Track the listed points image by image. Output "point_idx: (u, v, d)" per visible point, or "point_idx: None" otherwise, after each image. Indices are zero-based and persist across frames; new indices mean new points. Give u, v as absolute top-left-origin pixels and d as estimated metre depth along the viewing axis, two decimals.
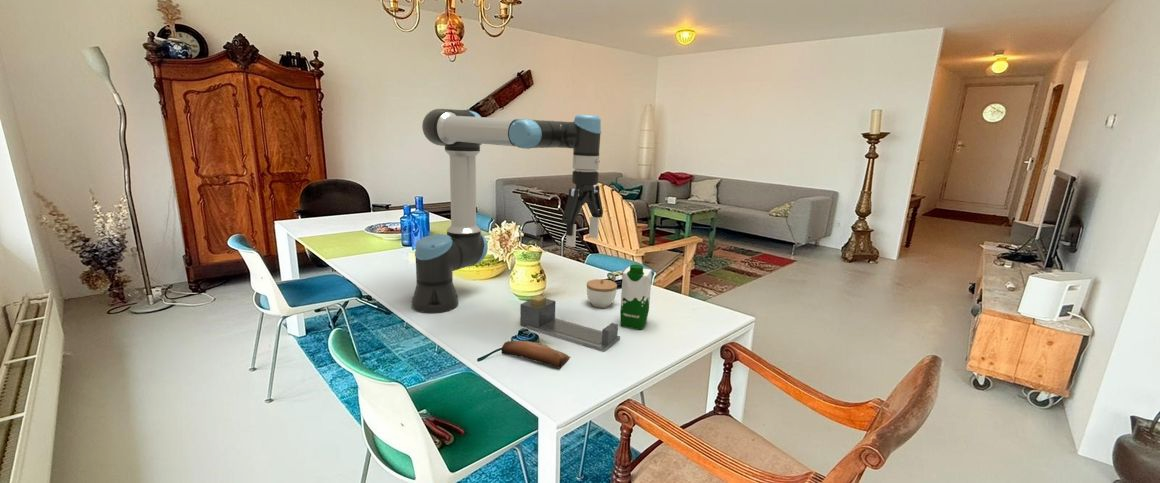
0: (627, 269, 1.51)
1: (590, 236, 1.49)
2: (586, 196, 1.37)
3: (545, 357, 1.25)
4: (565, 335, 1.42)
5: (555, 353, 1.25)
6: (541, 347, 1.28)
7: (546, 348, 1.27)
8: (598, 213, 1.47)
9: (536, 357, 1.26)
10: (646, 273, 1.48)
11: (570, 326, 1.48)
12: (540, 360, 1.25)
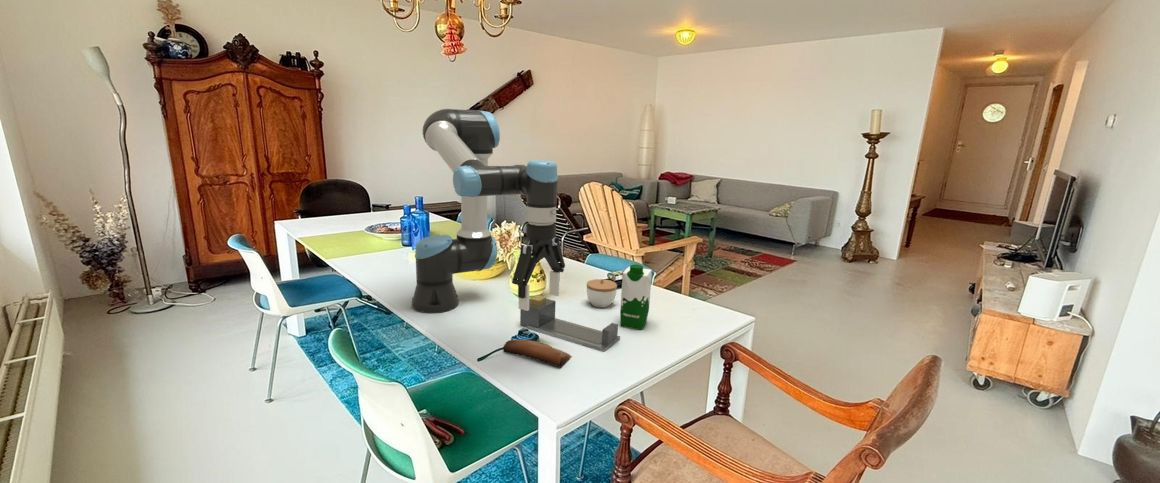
0: (627, 269, 1.51)
1: (550, 293, 1.32)
2: (541, 252, 1.21)
3: (546, 356, 1.25)
4: (565, 335, 1.42)
5: (556, 352, 1.25)
6: (542, 346, 1.28)
7: (547, 347, 1.28)
8: (558, 268, 1.30)
9: (537, 356, 1.26)
10: (646, 273, 1.48)
11: (570, 326, 1.48)
12: (541, 359, 1.26)
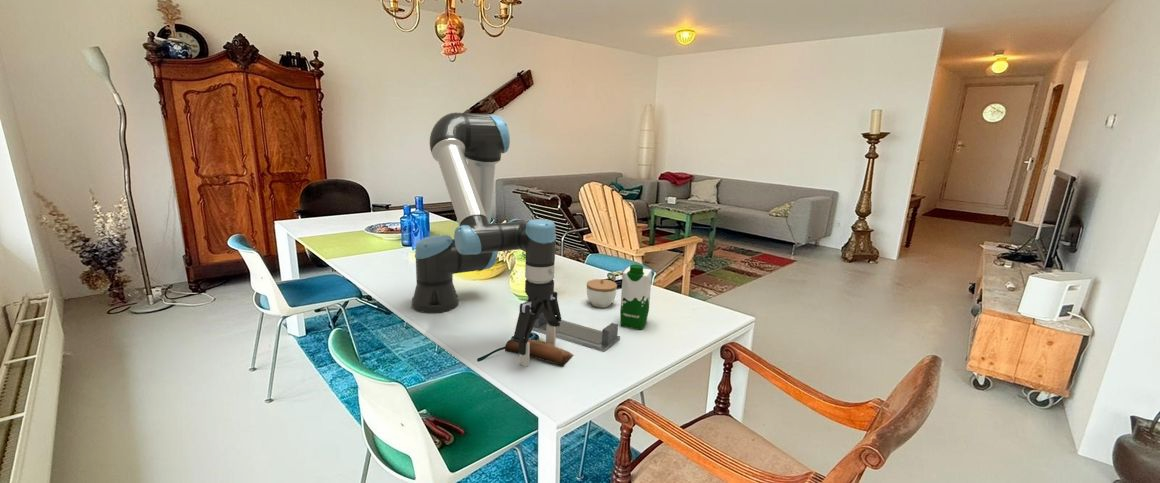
0: (627, 269, 1.51)
1: None
2: (540, 309, 1.24)
3: (548, 355, 1.26)
4: (565, 335, 1.42)
5: (558, 351, 1.26)
6: (544, 345, 1.29)
7: (549, 346, 1.28)
8: (555, 322, 1.33)
9: (539, 354, 1.27)
10: (646, 273, 1.48)
11: (570, 326, 1.48)
12: (543, 358, 1.27)
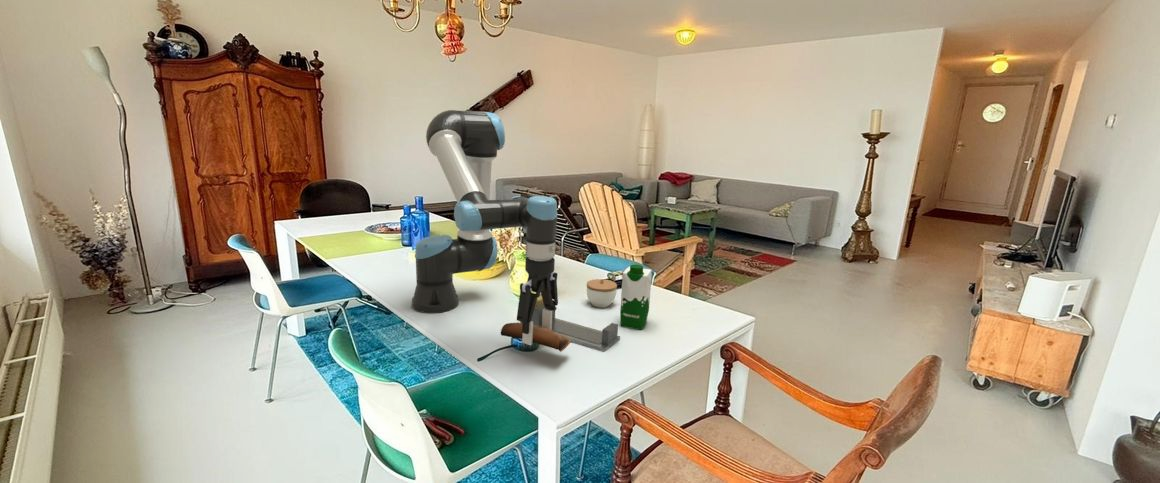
0: (627, 269, 1.51)
1: None
2: (540, 287, 1.23)
3: (545, 339, 1.24)
4: (565, 335, 1.42)
5: (555, 335, 1.24)
6: (541, 329, 1.27)
7: (546, 330, 1.26)
8: (552, 305, 1.31)
9: (535, 339, 1.25)
10: (646, 273, 1.48)
11: (570, 326, 1.48)
12: (540, 342, 1.25)
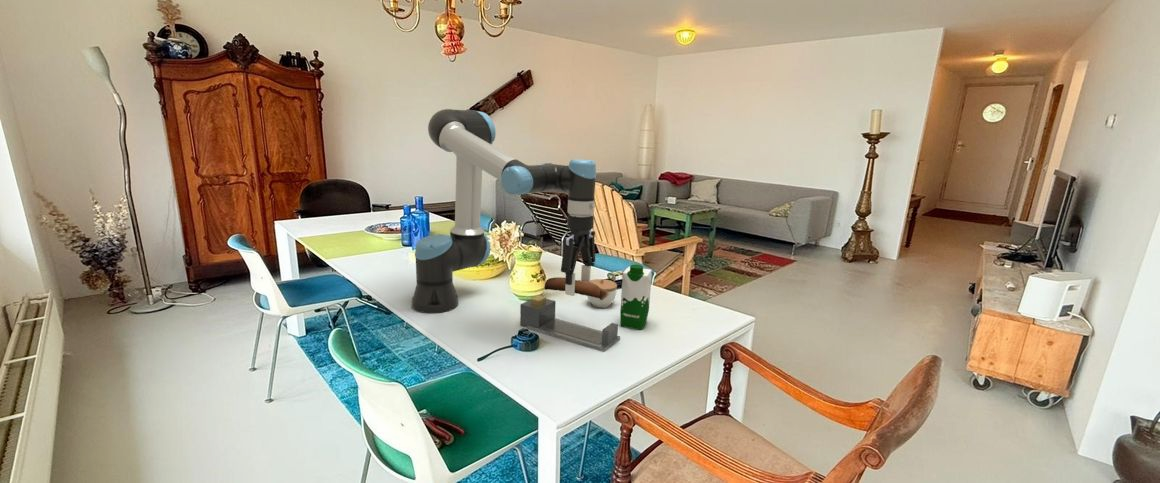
0: (627, 269, 1.51)
1: None
2: (582, 241, 1.35)
3: (586, 290, 1.36)
4: (565, 335, 1.42)
5: (595, 286, 1.36)
6: (582, 282, 1.39)
7: (586, 282, 1.38)
8: (590, 261, 1.43)
9: (577, 290, 1.37)
10: (646, 273, 1.48)
11: (570, 326, 1.48)
12: (582, 292, 1.36)
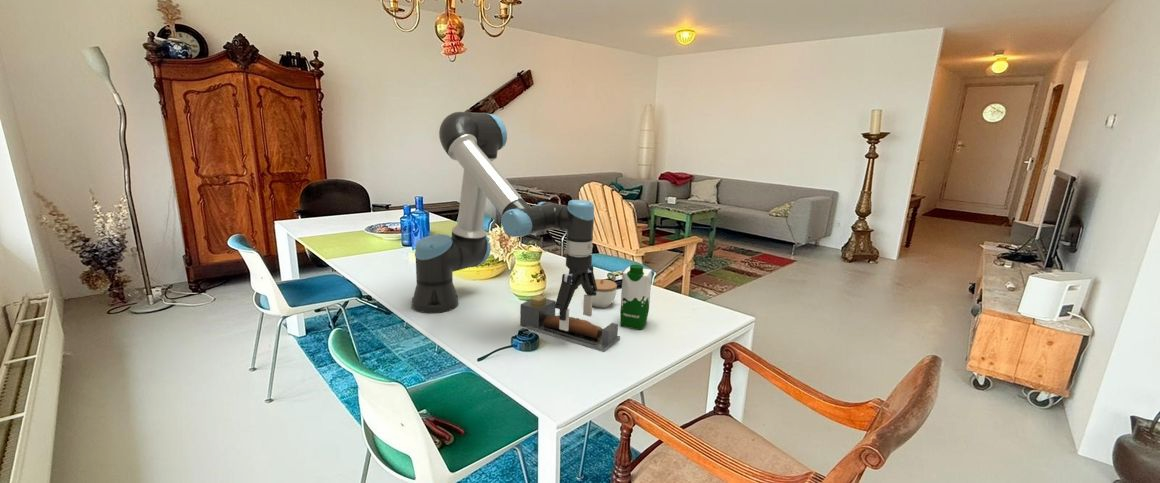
0: (627, 269, 1.51)
1: (584, 313, 1.50)
2: (579, 280, 1.38)
3: (584, 329, 1.39)
4: (565, 335, 1.42)
5: (593, 326, 1.39)
6: (580, 321, 1.42)
7: (584, 321, 1.41)
8: (592, 292, 1.47)
9: (575, 329, 1.40)
10: (646, 273, 1.48)
11: None
12: (579, 332, 1.40)
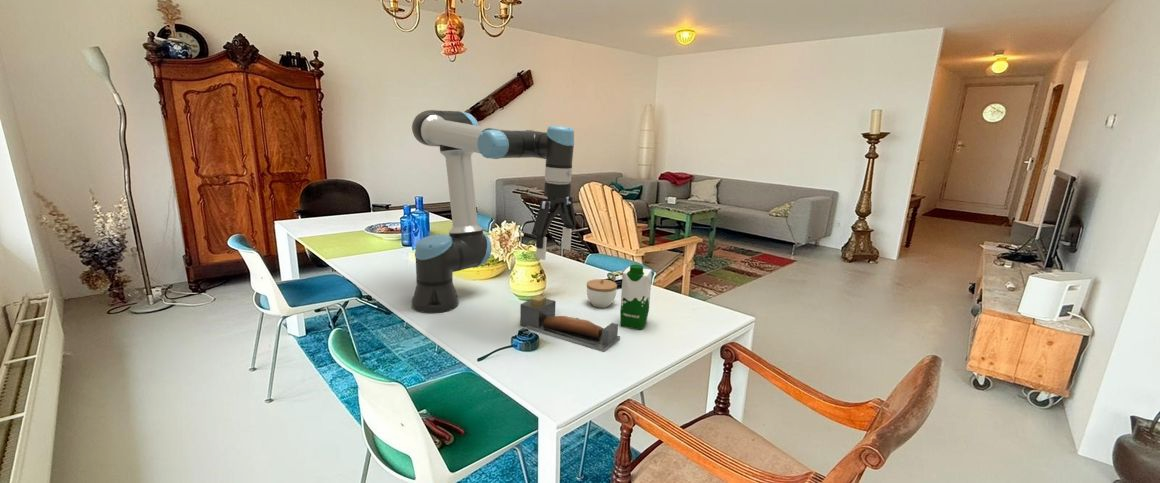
0: (627, 269, 1.51)
1: (563, 247, 1.47)
2: (558, 208, 1.35)
3: (585, 329, 1.39)
4: (565, 335, 1.42)
5: (594, 325, 1.39)
6: (580, 321, 1.42)
7: (585, 321, 1.42)
8: (571, 224, 1.45)
9: (576, 329, 1.40)
10: (646, 273, 1.48)
11: None
12: (580, 332, 1.40)
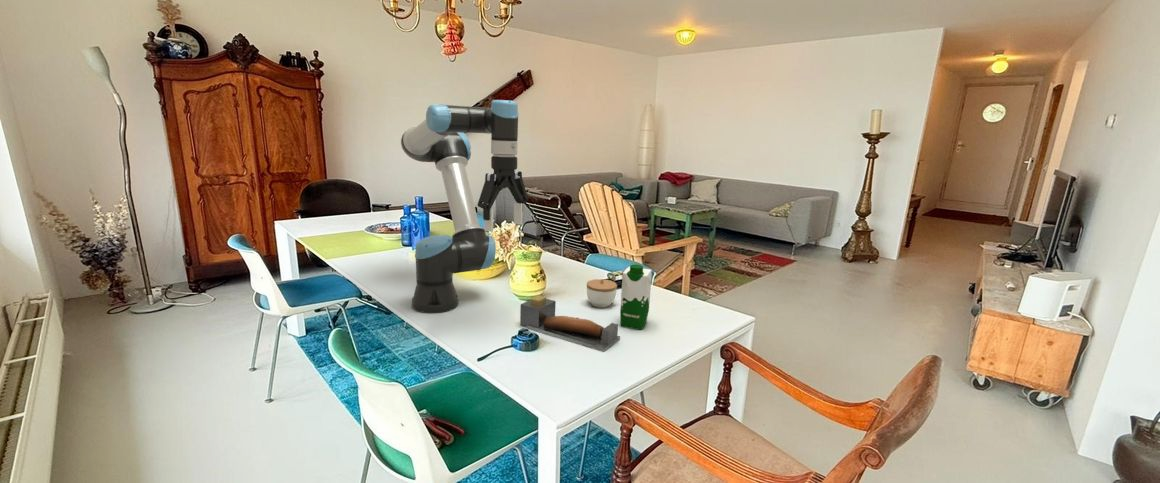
0: (627, 269, 1.51)
1: (515, 222, 1.50)
2: (504, 181, 1.38)
3: (587, 328, 1.40)
4: (565, 335, 1.42)
5: (595, 324, 1.40)
6: (581, 320, 1.42)
7: (586, 321, 1.42)
8: (521, 199, 1.47)
9: (577, 329, 1.40)
10: (646, 273, 1.48)
11: None
12: (582, 331, 1.40)
